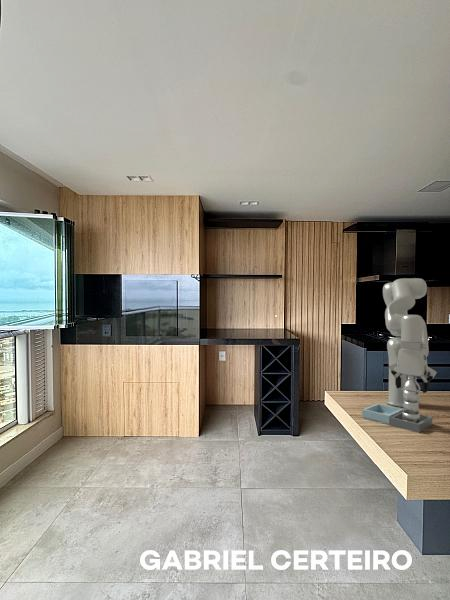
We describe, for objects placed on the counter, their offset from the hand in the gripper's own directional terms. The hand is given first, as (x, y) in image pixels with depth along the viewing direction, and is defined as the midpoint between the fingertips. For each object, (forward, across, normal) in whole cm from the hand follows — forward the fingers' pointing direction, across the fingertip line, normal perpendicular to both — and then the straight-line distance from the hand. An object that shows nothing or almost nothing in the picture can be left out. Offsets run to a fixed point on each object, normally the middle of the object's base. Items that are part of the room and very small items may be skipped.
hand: (411, 390), depth 138 cm
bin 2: (+14, 0, -1) cm, 14 cm away
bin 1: (+14, +12, -1) cm, 18 cm away
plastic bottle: (+14, 0, -1) cm, 14 cm away
